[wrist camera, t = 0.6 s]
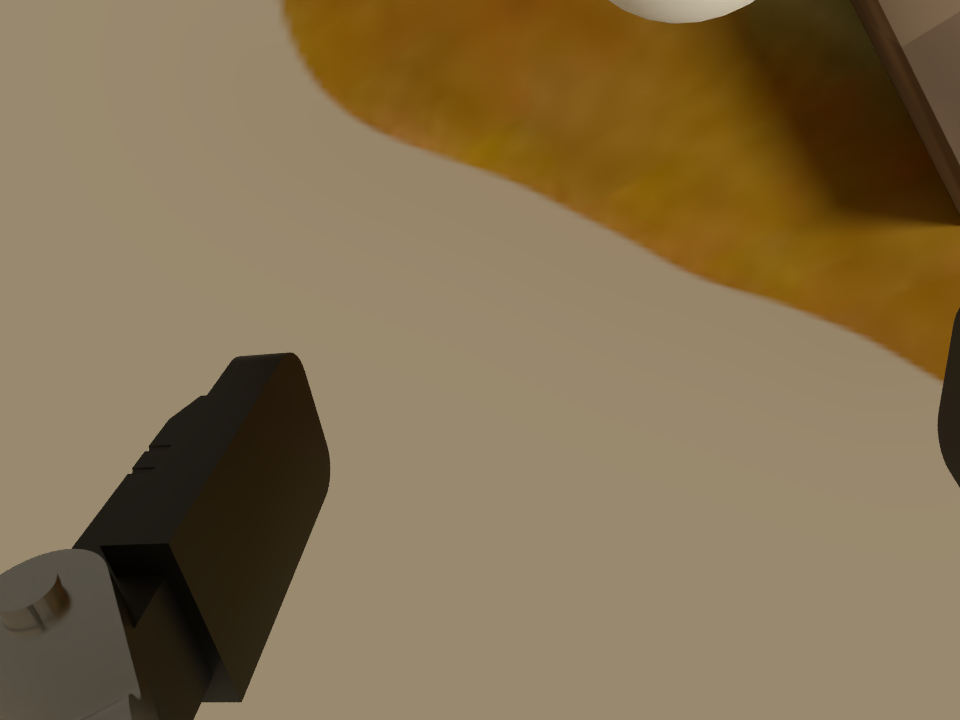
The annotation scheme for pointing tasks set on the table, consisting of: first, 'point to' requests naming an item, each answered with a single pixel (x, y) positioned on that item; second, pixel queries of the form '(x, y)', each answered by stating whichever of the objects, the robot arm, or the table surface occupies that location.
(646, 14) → the lightbulb
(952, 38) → the socket block
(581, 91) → the table surface
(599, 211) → the table surface
